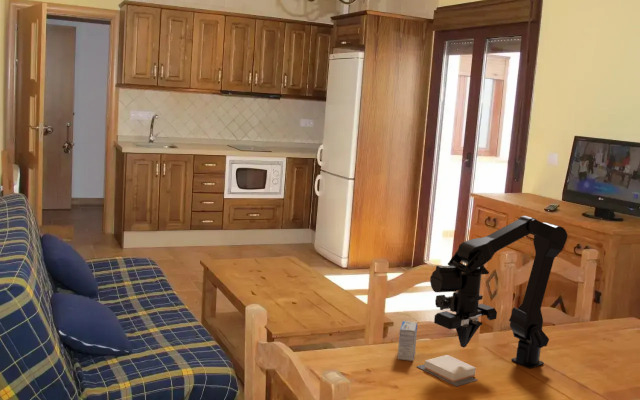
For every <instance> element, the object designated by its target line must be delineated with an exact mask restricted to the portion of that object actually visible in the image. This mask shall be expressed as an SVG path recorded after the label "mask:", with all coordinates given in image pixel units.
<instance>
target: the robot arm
mask: <svg viewBox="0 0 640 400" xmlns="http://www.w3.org/2000/svg"><path fill="white" fill-rule="evenodd" d="M529 235H532V236H533V247H534V252H535V256H534V258H533V263H532V267H531V271H530V274H529V278H528V282H527V285H526V290H525V292H524V296H523V299H522V302H521V304H520V305H519V306H518V307H513V308H512V309H511V313H510V314H511V315H510V318H509V319H508V321H509V322H510V323H509V328H510V329H511V331H512V333H513V337H514V338H516V339H518V341H517V347H516V356H515V357H513V358H511V361H512V362H514V363H516V364H519V365H521V366H523V367H526V368H528V369H533V368H536V367H538V366H541V365H544V364H545V362H544V361H542V360H540V357H541V351H542V350H541V348H542V349H543V347H547V346H548V343H549V341H550V338H549V337H548V336H547V335H546V333H545V332H544V331H543V324H544V317H543V313H542V310H541V309H542V305H543V301H544V298H545V293H546V290H547V286H548V282H549V279H550V277H551V276H550V275H551V272H552V268H553V264H554V260H555V258H557V257H558V255H559V254H560V253H561V252H562V251H563V249H564V247H565V246H566V242H567V241H568V232H567V230H566V229H565V228H564V227H562V226H560V225H557V224H552V223H551V222H546V221H544V222H541V221H539V220H537V219H536V218H534V217H531V216H528V215H522V216H520V217H519V218H518V219H516V220H514V221H513V222H511V223H509V224H507V225H506V226H504V227H501V228H500V229H498V230H495V231H494V232H491V233H490V234H488V235H486V236H484V237H476V238H471V239H468V240H465V241H463V242H461V243H460V244H459V245H458V249H457V250H456V252H455V253H454V255H453V256H452V257H451V258H450V260H449V262H448V263H447V265H436V266H435V270H433V271H432V273H431V275H430V276H429V277H430V278H429V279H430V280H429V282H430V287H431V289H432V291H433V292H434V293H450V292H453V293H452V296H451V295H450V296H446V294H439V295H436V297H435V301H434V302H435V307H436V308H439V310H440V312H437V313H436V314H435V315H434V317H433V318H434V320H433V323H434V324H436V325H438V326H440V327H443V328H445V329H448V330H456V334H457V338H458V340H459V345H460V347H461V348H463V349H464V348H466V347H467V346H468V344H469V343H470V341H471V340H472V338H473V336H474V335H475V333H476V332H477V331H478V329H479V328H480V327H481V326H482V325H483V322H482V321H479V317H483V316H486V319H487V320H489V321H493V320H497V318H498V317H497V316H498V313H497V312H498V311H497V310H496V308H495V307H492V306H491V305H487V304H484V303H480V302H479V301H480V300H483V297H484V295H482V294H480V293H481V284H482V283H481V282H482V275H490V271H489V270H488V269H487V268H486V267H485V265H486V264H487V263H488V262H490V261H491V260H492V259H493V257H494V255H495V254H496V253H497V252H499V251H500V250H502V249H504V248H506V247H508V246H510V245H511V244H514V243H515V242H517V241H519V240H521V239H523V238H524V237H526V236H529ZM463 263H464V264H463ZM448 309H449V311H450V312H449V311H447V310H448ZM443 310H445V311H443ZM452 312H454V313H452Z"/></svg>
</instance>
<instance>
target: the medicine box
mask: <svg viewBox="0 0 640 400" xmlns="http://www.w3.org/2000/svg"><path fill="white" fill-rule="evenodd" d="M417 333H418V322H417V321H416V322H414V321H408V320H404V321H403V320H402V322H401V325H400V329H399V333H398V334H399V336H398V348H397V360H404V361H411V362H413V361H414V359H415V355H416V348H417V346H416V345H417V336H418V335H417Z"/></svg>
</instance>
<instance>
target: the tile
mask: <svg viewBox="0 0 640 400" xmlns="http://www.w3.org/2000/svg"><path fill="white" fill-rule="evenodd" d="M424 361H425V362H424V364H425V369H427V370H429V371H431V372H433V373H435V374H437V375H439V376H441V377H444V378H446V379H448V380H450V381H452V382H455V381H459V380H462V379H465V378H469V377H476V370H477V367H475V366H473V365H471V364H469V363H466V362H464V361H462V360H460V359H458V358H455V357H453V356H451V355H448V354H445V355H440V356H437V357H433V358H430V359H425V360H424Z"/></svg>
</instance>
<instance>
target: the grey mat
mask: <svg viewBox="0 0 640 400" xmlns="http://www.w3.org/2000/svg"><path fill="white" fill-rule="evenodd" d="M416 368H417V369H420V370H422V371H424V372H426V373H428V374H430V375H432V376H433V377H436V378H438V379H440V380H443V381H444V382H447V383H448V384H450V385H452V386H455V387H460V386H463V385H466V384H469V383H470V384H471V383H473V382H476V381H478V378H475V377H474V376H472V377H469V378H465V379H462V380H459V381H455V382H452V381H450V380H448V379H446V378H444V377H441V376H439V375H437V374H435V373H433V372H431V371H429V370H427V369H425V363H423V364H420V365H417V366H416Z"/></svg>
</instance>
